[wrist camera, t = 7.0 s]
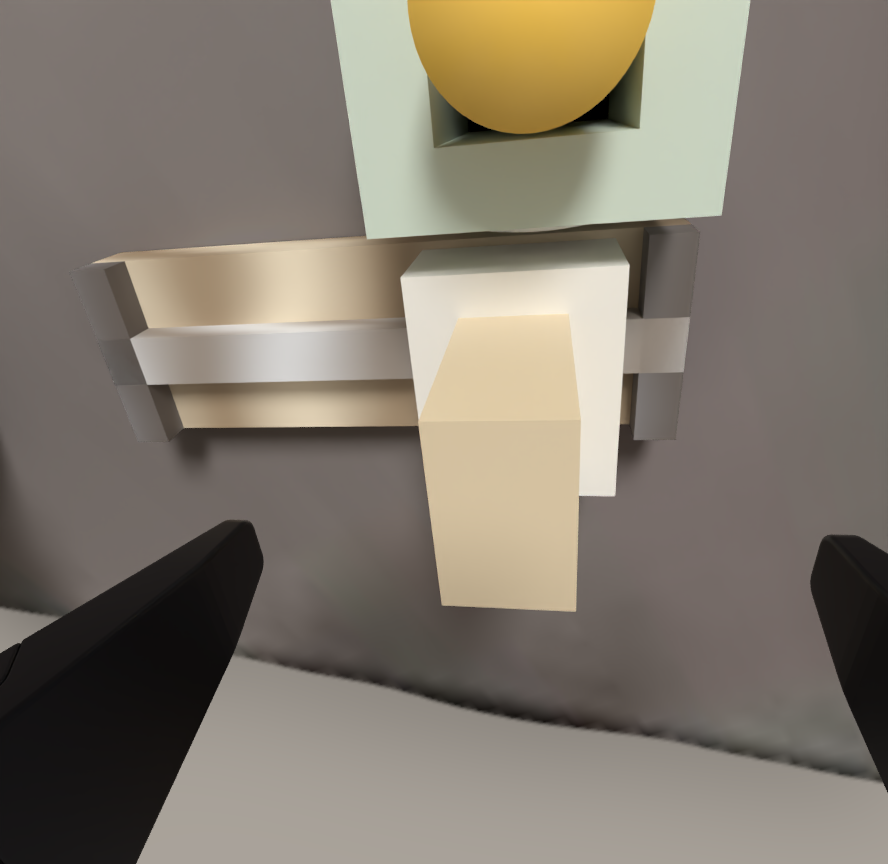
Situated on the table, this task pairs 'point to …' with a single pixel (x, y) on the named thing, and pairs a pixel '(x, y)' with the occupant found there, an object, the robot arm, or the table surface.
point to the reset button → (527, 56)
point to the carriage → (516, 409)
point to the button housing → (549, 152)
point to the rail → (341, 328)
